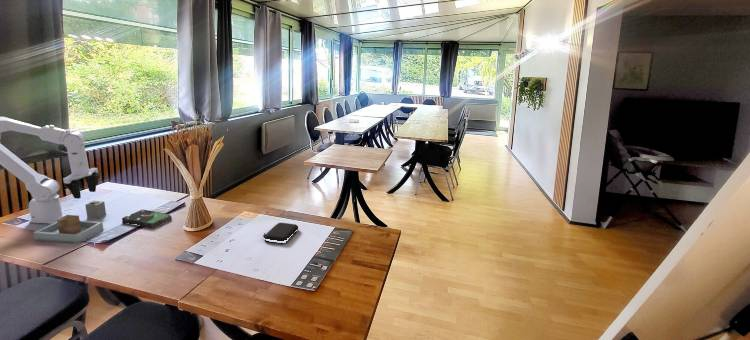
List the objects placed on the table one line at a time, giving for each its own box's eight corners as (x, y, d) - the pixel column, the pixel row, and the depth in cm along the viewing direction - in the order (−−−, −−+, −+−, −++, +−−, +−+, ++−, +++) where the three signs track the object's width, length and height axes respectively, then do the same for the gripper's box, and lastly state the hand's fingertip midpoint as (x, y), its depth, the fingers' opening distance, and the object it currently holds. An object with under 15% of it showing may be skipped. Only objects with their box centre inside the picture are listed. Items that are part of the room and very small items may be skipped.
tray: (34, 240, 137) (33, 232, 136) (62, 226, 148) (61, 219, 148) (78, 243, 136) (77, 235, 136) (103, 229, 148) (102, 222, 147)
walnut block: (59, 234, 140) (56, 219, 138) (69, 229, 144) (66, 214, 143) (71, 235, 140) (68, 220, 138) (81, 230, 144) (78, 215, 143)
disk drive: (122, 224, 154) (153, 229, 151) (121, 218, 154) (152, 223, 150) (143, 215, 164) (172, 219, 161) (142, 209, 163) (171, 213, 160)
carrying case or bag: (275, 227, 159) (259, 242, 145) (275, 220, 159) (258, 235, 145) (300, 230, 158) (285, 246, 144) (300, 223, 157) (285, 239, 143)
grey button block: (87, 218, 157) (85, 204, 155) (95, 213, 161) (93, 200, 159) (98, 218, 157) (96, 204, 155) (106, 214, 161) (104, 201, 159)
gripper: (72, 168, 145) (79, 201, 148) (102, 158, 158) (108, 189, 162) (55, 167, 145) (62, 200, 149) (86, 157, 159) (92, 188, 163)
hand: (85, 194), depth 156 cm, fingers open, 7 cm apart
